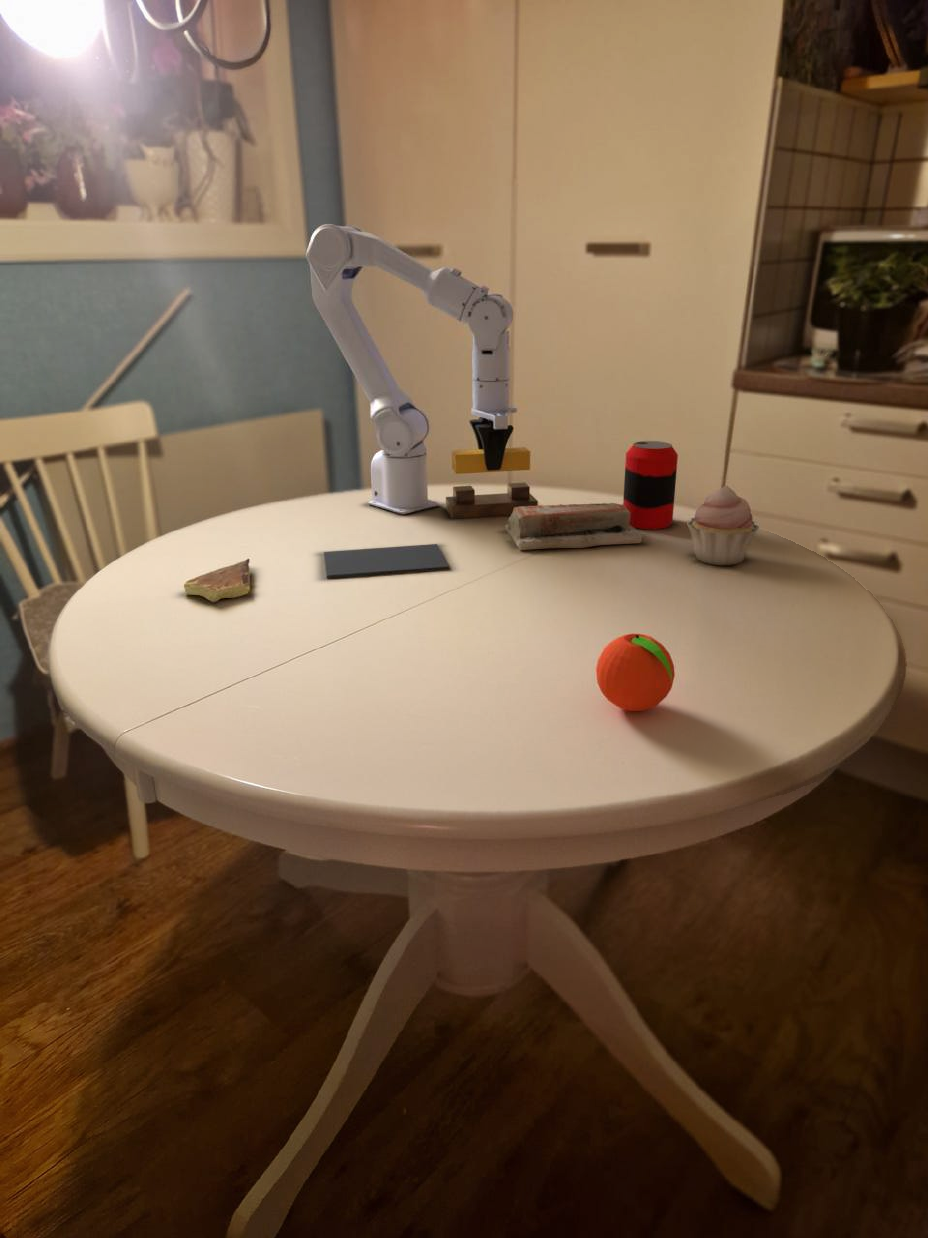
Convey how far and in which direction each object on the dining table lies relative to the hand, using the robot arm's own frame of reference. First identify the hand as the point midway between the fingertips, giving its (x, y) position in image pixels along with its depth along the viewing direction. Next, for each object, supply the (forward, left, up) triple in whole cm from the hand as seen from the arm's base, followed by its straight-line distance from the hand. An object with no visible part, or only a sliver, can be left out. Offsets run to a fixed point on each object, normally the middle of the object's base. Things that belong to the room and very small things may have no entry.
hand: (491, 467), depth 138 cm
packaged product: (+19, -2, -7) cm, 20 cm away
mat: (+8, -28, -7) cm, 30 cm away
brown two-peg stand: (0, 0, -7) cm, 7 cm away
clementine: (+57, -37, -7) cm, 68 cm away
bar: (0, 0, 0) cm, 0 cm away
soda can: (+22, +12, -7) cm, 26 cm away
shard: (+1, -49, -7) cm, 50 cm away
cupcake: (+39, +5, -7) cm, 40 cm away
